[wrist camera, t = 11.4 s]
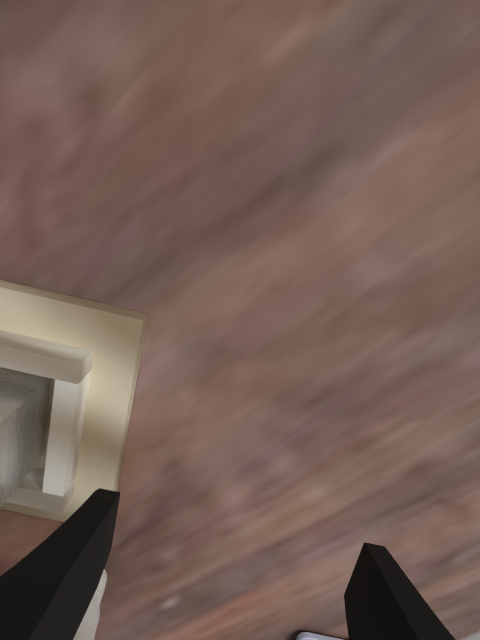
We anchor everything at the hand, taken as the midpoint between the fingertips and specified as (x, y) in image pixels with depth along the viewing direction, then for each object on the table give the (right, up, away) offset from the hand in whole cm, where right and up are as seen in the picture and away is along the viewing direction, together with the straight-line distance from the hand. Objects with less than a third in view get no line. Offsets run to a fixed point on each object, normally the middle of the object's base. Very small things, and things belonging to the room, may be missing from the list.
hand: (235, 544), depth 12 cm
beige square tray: (-11, +3, +9) cm, 15 cm away
